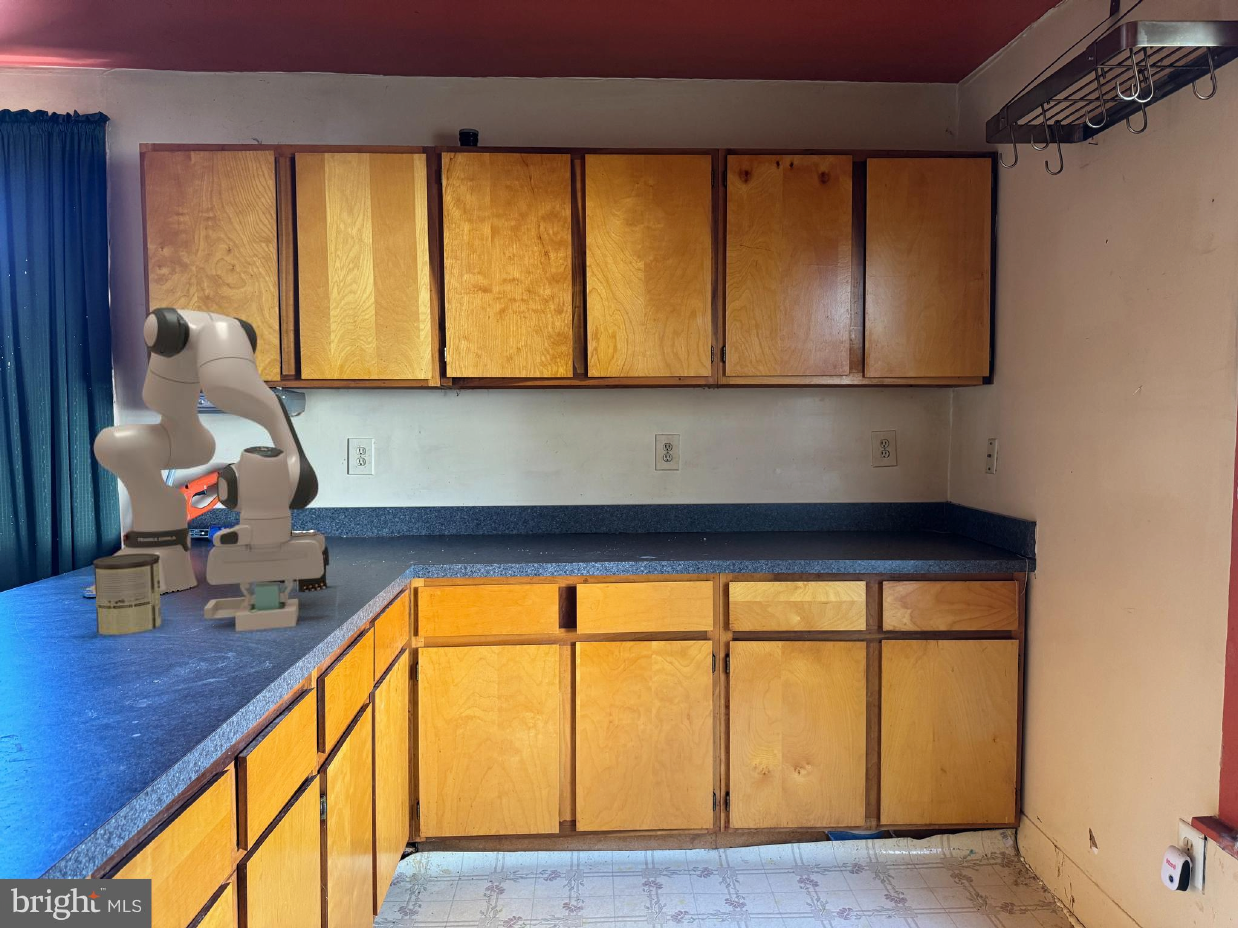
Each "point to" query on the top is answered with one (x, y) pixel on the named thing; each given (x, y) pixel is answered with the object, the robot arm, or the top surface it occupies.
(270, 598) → the plug
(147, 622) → the coffee can
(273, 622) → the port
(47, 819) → the top surface
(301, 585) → the battery
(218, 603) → the holster
